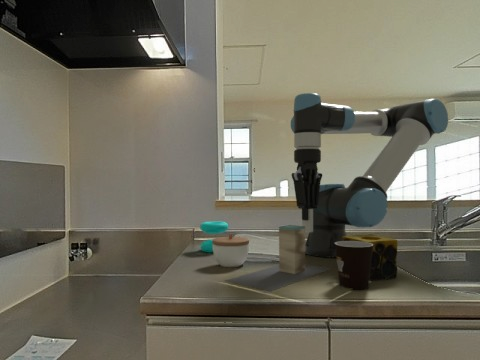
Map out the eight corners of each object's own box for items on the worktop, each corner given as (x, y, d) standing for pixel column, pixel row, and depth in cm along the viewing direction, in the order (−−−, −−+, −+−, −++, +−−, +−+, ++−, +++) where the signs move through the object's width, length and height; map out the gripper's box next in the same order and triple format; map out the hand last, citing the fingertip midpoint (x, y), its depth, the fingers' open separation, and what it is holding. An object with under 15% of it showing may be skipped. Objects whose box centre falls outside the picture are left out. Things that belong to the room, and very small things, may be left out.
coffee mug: (375, 293, 86) (375, 247, 86) (335, 290, 87) (335, 246, 87) (369, 279, 97) (369, 239, 97) (333, 277, 99) (333, 238, 99)
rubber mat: (289, 263, 116) (289, 261, 116) (332, 270, 107) (332, 268, 107) (224, 282, 95) (224, 280, 95) (270, 292, 86) (270, 291, 86)
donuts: (230, 223, 133) (201, 224, 132) (230, 252, 133) (201, 253, 132) (226, 220, 143) (199, 221, 142) (226, 247, 143) (199, 248, 142)
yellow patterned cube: (340, 273, 104) (340, 235, 104) (371, 269, 108) (370, 233, 108) (365, 282, 94) (365, 241, 94) (398, 278, 98) (398, 239, 98)
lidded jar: (227, 272, 106) (227, 237, 106) (205, 265, 114) (204, 233, 114) (256, 266, 112) (256, 233, 112) (233, 260, 121) (233, 230, 121)
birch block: (289, 267, 108) (289, 224, 108) (305, 270, 105) (304, 226, 105) (279, 271, 105) (279, 226, 105) (294, 274, 101) (294, 228, 101)
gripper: (308, 150, 118) (308, 228, 118) (283, 148, 108) (283, 232, 108) (330, 149, 113) (330, 230, 113) (306, 146, 103) (306, 235, 103)
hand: (307, 231), depth 111 cm, fingers closed
